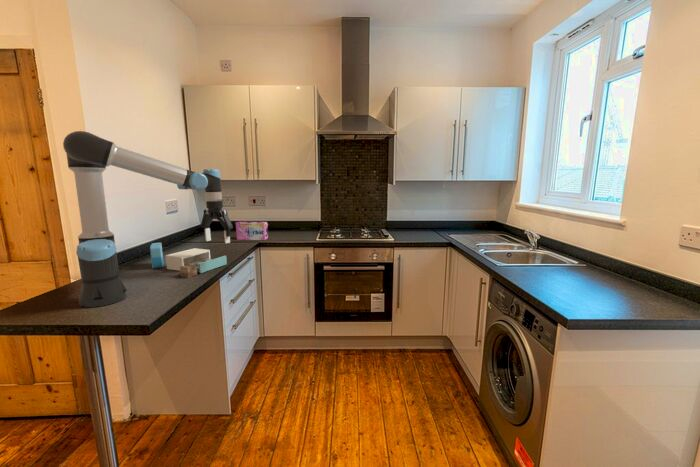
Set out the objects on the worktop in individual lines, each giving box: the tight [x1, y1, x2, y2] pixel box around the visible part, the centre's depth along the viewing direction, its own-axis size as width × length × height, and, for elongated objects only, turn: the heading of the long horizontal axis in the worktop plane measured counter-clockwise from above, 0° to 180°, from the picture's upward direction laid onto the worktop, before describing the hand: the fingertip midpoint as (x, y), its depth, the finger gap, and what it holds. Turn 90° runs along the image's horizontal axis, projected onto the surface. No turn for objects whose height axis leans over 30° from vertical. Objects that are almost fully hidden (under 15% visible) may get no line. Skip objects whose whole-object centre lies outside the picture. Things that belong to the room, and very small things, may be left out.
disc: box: [196, 260, 209, 266], centre depth 166 cm, size 8×8×2 cm
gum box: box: [235, 220, 269, 241], centre depth 242 cm, size 24×8×14 cm, turn 85°
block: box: [179, 264, 198, 279], centre depth 152 cm, size 5×5×5 cm
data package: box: [149, 242, 164, 269], centre depth 169 cm, size 12×4×12 cm
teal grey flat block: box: [191, 255, 228, 274], centre depth 165 cm, size 13×18×5 cm
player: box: [164, 247, 211, 272], centre depth 170 cm, size 12×18×7 cm, turn 157°
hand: (217, 241), depth 160 cm, fingers open, 13 cm apart
